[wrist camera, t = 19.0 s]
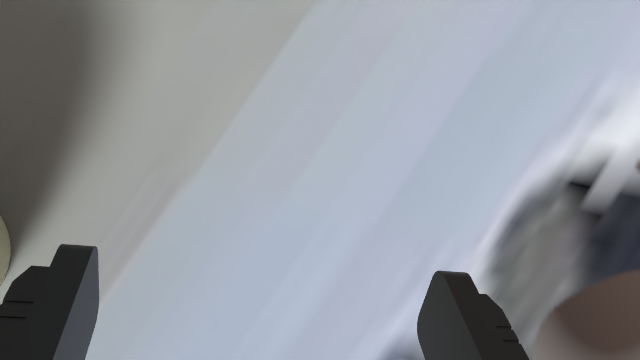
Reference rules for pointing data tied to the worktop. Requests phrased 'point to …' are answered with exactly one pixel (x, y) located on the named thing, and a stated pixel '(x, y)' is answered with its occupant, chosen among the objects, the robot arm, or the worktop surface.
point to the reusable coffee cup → (4, 250)
